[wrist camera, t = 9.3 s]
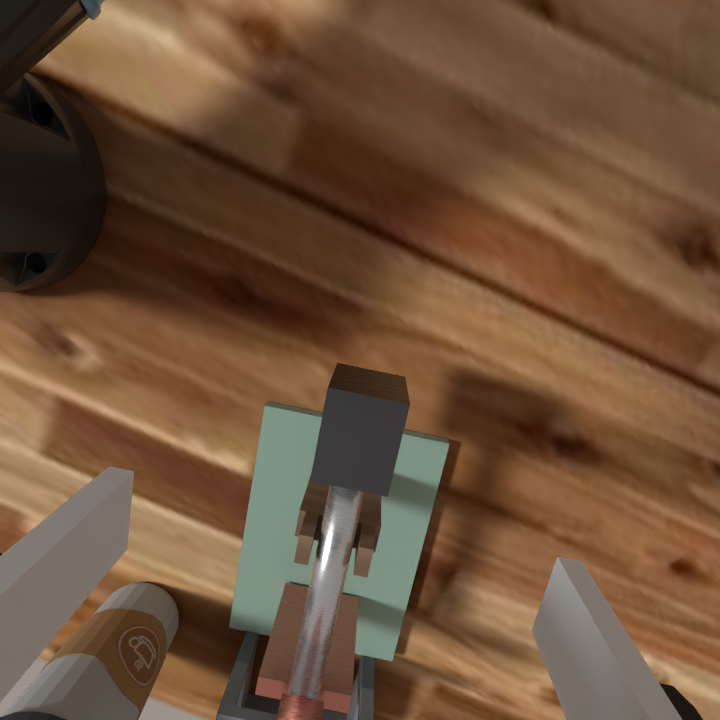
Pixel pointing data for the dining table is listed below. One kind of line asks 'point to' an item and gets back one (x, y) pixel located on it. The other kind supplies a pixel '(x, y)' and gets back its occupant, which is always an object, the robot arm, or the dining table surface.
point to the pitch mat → (278, 541)
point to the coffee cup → (105, 661)
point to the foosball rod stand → (334, 546)
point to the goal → (258, 714)
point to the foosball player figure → (312, 523)
